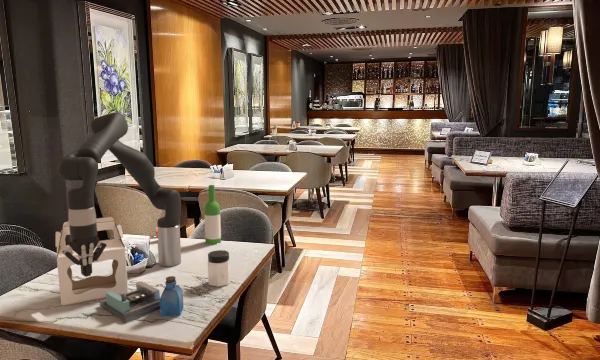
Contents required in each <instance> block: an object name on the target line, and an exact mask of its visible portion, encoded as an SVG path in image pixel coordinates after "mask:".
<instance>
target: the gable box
mask: <svg viewBox="0 0 600 360" xmlns="http://www.w3.org/2000/svg"><path fill="white" fill-rule="evenodd" d="M96 223H97V232H99V231H107V230H108V231H110V230H111V231H113V238H111V239H110V238H108V239H104V240H99V241H100V242H103V243H105V244H106V247H105V249H104V250H103V252H102V254H101V255H100V257H99V258H98V260H97V261H94V262H93V263H100V262H103V261H108V260H112V263H111V267H112V273H111V274H110V275H107V276H106V275H91V276H87V277H85V278H83V279H81V280H74V279H73V270H72V268H71V266H73V265H76V264H75V263H73V262H72V261H71V260H70V259H68V258H67V257H66V256H65V255H64V254H63V253H62V252H63V251H64V250H67V249H68V248H69V247H70V246H69V244H66V237H67V236H70V229H69V222H68V221H65V222H63V224H62V229H61V230H60V231H55V248H56V265H57V275H58V277H57V278H58V285H59V286H58V287H59V295H60V296H59V297H60V305H61V306H67V305H71V304H72V305H73V304H78V303H83V302H90V301H92V300H93V301H94V300H99V299H104V298H106V293H107V292H110V291H113V292H114V293H116V294H118V295H122V294H125V293H128V292H129V285H128V272H127V271H128V270H127V268H128V267H127V259H126V258H127V256H126V247H125V244H124V242H123V239H124V233H123V227H122V223H120V224H119V223H118V224H117V223H115V220H114V218H113V217H112V216H108V217H98V218H97V217H96ZM96 248H97V247H96ZM96 248H95V249H94V251H95V250H96ZM94 251H93V253H94ZM72 252H73V256H74V257H75V258H76V259H78V260H79V257H78V254H77V253H76V252H75V251H74V250H72ZM93 263H92V264H93Z"/></svg>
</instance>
